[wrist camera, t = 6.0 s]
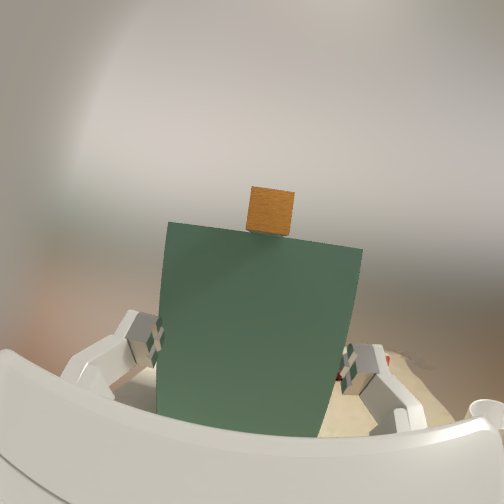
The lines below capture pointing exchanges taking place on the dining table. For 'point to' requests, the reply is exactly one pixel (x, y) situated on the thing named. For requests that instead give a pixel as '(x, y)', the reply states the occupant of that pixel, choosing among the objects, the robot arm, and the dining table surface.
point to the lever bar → (270, 211)
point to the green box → (252, 329)
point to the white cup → (489, 413)
